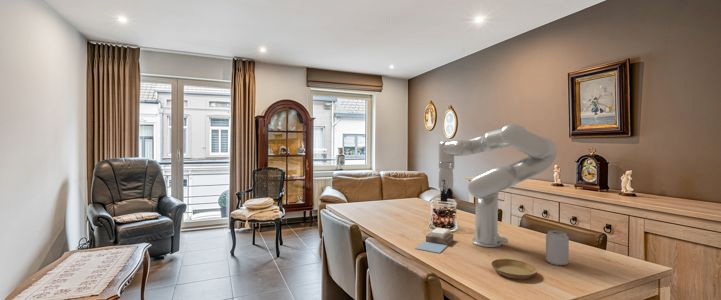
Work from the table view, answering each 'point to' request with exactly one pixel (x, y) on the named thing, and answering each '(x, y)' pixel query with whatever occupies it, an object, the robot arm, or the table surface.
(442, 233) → the tile
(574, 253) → the table surface
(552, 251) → the can
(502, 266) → the plant saucer
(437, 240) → the step
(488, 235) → the robot arm
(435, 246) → the mat
